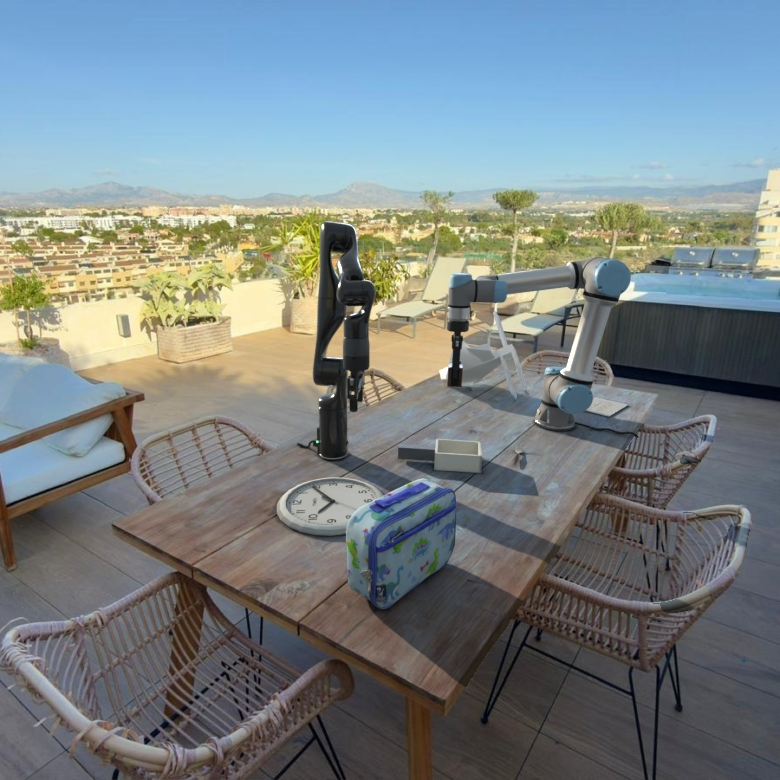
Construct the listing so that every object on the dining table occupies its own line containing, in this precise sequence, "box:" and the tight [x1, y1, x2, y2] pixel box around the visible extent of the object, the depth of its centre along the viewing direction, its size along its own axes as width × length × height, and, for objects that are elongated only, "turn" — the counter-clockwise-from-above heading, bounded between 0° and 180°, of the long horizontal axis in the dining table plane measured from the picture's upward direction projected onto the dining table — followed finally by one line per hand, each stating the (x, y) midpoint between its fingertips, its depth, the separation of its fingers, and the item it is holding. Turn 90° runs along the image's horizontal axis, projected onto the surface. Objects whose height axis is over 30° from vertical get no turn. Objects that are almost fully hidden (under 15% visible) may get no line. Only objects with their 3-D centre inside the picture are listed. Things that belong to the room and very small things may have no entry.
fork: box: [514, 442, 525, 466], centre depth 175 cm, size 3×16×2 cm, turn 160°
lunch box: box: [345, 477, 457, 610], centre depth 110 cm, size 26×11×21 cm, turn 134°
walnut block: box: [446, 363, 463, 388], centre depth 186 cm, size 5×5×7 cm
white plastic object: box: [438, 310, 531, 400], centre depth 245 cm, size 37×45×31 cm
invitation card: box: [585, 396, 629, 418], centre depth 226 cm, size 21×1×15 cm
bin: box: [397, 438, 483, 474], centre depth 169 cm, size 27×12×6 cm, turn 83°
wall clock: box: [276, 476, 385, 537], centre depth 142 cm, size 30×2×30 cm
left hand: (356, 406), depth 152 cm, fingers open, 8 cm apart
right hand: (454, 384), depth 187 cm, fingers closed on walnut block, 5 cm apart
